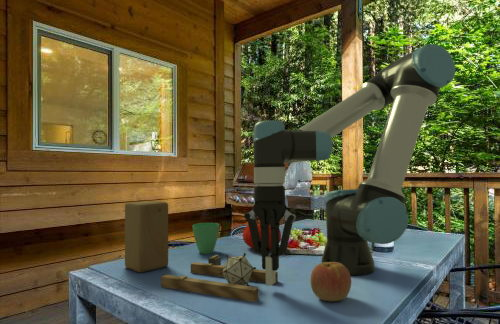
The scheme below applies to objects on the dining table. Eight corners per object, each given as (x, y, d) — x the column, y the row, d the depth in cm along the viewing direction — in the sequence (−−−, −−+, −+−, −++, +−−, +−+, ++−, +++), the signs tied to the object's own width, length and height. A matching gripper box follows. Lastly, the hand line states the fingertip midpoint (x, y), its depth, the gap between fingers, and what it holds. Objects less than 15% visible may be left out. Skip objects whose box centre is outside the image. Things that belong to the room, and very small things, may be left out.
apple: (357, 306, 69) (356, 267, 69) (316, 307, 68) (315, 269, 69) (342, 291, 78) (341, 257, 78) (306, 292, 77) (305, 258, 77)
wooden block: (169, 266, 101) (169, 201, 102) (139, 274, 94) (139, 204, 94) (152, 261, 108) (152, 200, 108) (123, 267, 100) (123, 202, 101)
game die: (243, 304, 80) (250, 278, 75) (212, 289, 82) (217, 263, 77) (255, 276, 88) (262, 251, 82) (226, 264, 89) (232, 238, 84)
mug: (223, 253, 117) (223, 225, 117) (196, 256, 113) (196, 227, 113) (210, 245, 130) (210, 220, 130) (186, 248, 126) (186, 222, 126)
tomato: (249, 255, 114) (249, 226, 114) (239, 245, 130) (239, 220, 130) (288, 252, 117) (287, 225, 118) (274, 243, 133) (273, 219, 133)
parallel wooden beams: (281, 278, 88) (281, 261, 88) (254, 302, 72) (254, 281, 72) (200, 267, 99) (200, 253, 99) (160, 286, 83) (160, 269, 83)
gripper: (299, 184, 80) (301, 282, 79) (251, 184, 85) (252, 275, 84) (290, 185, 73) (292, 292, 72) (238, 185, 79) (239, 284, 78)
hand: (270, 283), depth 78 cm, fingers closed
